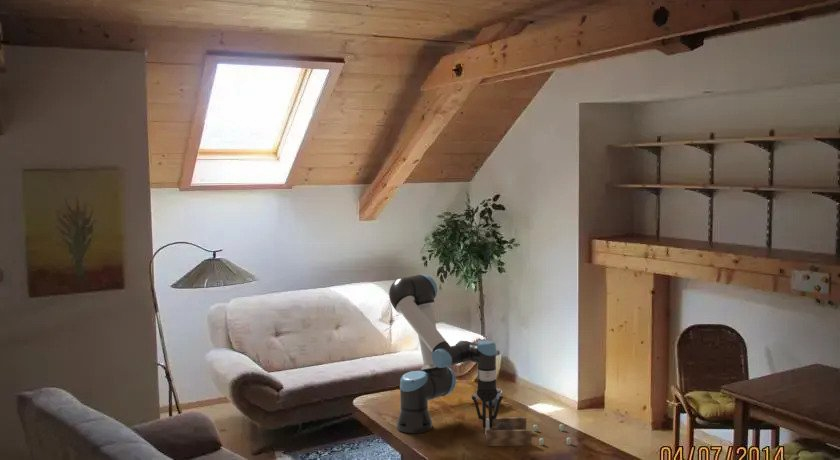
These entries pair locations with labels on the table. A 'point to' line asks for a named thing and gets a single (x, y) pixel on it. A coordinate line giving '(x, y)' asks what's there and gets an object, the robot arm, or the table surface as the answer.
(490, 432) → the channel
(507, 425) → the stone
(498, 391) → the mug
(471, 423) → the table surface
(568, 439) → the zone posts
